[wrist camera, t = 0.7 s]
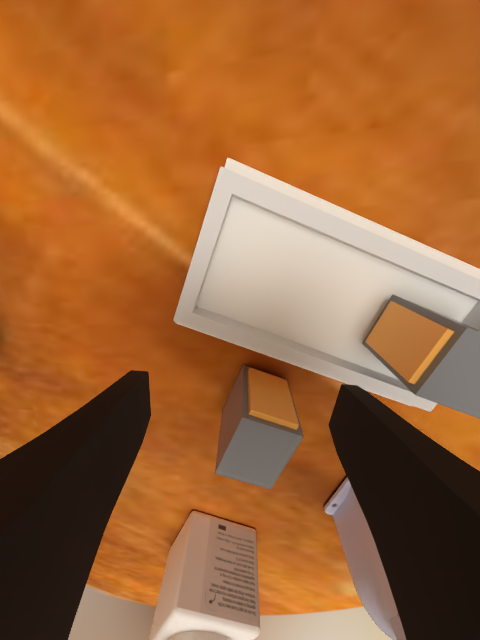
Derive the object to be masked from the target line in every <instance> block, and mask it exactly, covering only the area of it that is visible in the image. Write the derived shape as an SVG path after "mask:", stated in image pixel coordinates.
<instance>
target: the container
mask: <svg viewBox="0 0 480 640" xmlns="http://www.w3.org/2000/svg"><path fill="white" fill-rule="evenodd" d="M259 633H260V613H259V589H258V564H257V540H256V531H255V529H253V528H250V527H247V526H244V525H240V524H237V523H234V522H231V521H227V520H224V519H221V518H217V517H214V516H211V515H208V514H204V513H201V512H198V511H192V512H191V513H190V515H189V517H188V519H187V520H186V522H185V524H184V525H183V527H182V529H181V531H180V532H179V534H178V536H177V537H176V539H175V541H174V543H173V544H172V546H171V548H170V550H169V554H168V559H167V563H166V567H165V572H164V576H163V580H162V585H161V589H160V593H159V598H158V602H157V607H156V611H155V615H154V620H153V624H152V628H151V633H150V637H149V640H254V639H255V638H256V637H257V636H258V635H259Z"/></svg>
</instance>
